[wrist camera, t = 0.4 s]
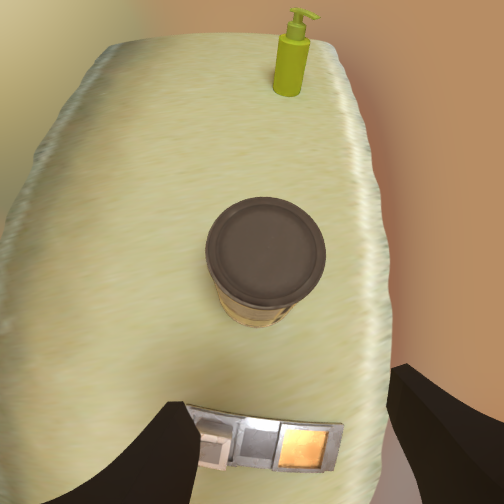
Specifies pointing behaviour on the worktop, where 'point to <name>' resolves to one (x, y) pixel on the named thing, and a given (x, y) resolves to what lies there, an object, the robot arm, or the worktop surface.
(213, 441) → the block
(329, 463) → the rail
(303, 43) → the soap dispenser
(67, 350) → the worktop surface
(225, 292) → the coffee can
